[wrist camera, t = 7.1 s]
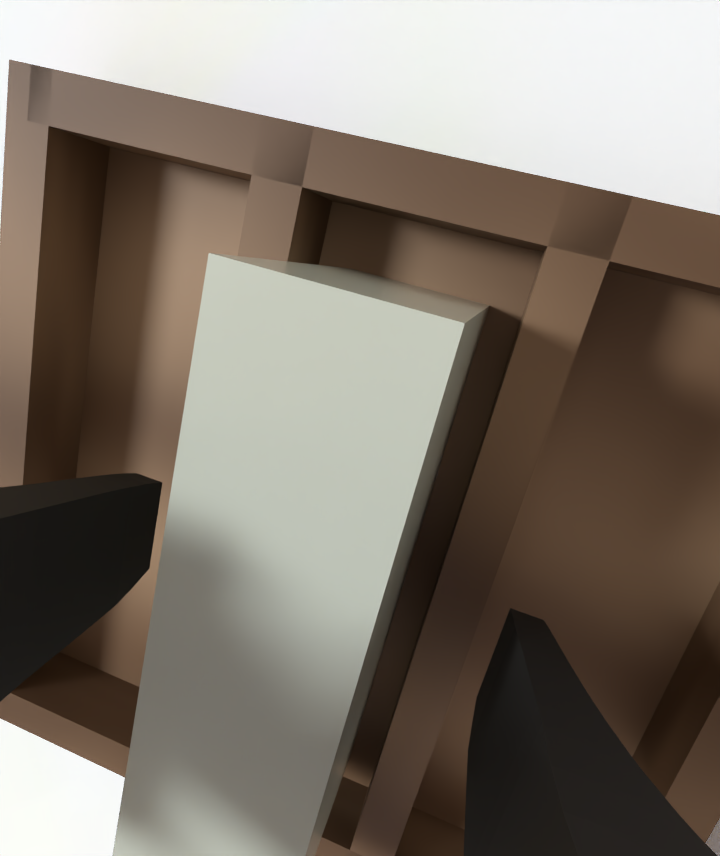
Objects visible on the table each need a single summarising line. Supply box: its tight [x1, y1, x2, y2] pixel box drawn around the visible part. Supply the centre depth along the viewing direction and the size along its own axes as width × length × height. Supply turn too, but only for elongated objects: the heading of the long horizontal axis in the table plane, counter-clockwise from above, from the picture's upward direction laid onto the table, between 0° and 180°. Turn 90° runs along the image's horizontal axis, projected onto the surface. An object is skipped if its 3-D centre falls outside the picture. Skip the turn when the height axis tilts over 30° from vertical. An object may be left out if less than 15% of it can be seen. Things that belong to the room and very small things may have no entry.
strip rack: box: [0, 60, 720, 856], centre depth 13 cm, size 16×17×2 cm
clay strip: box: [113, 253, 490, 856], centre depth 11 cm, size 12×3×6 cm, turn 166°
